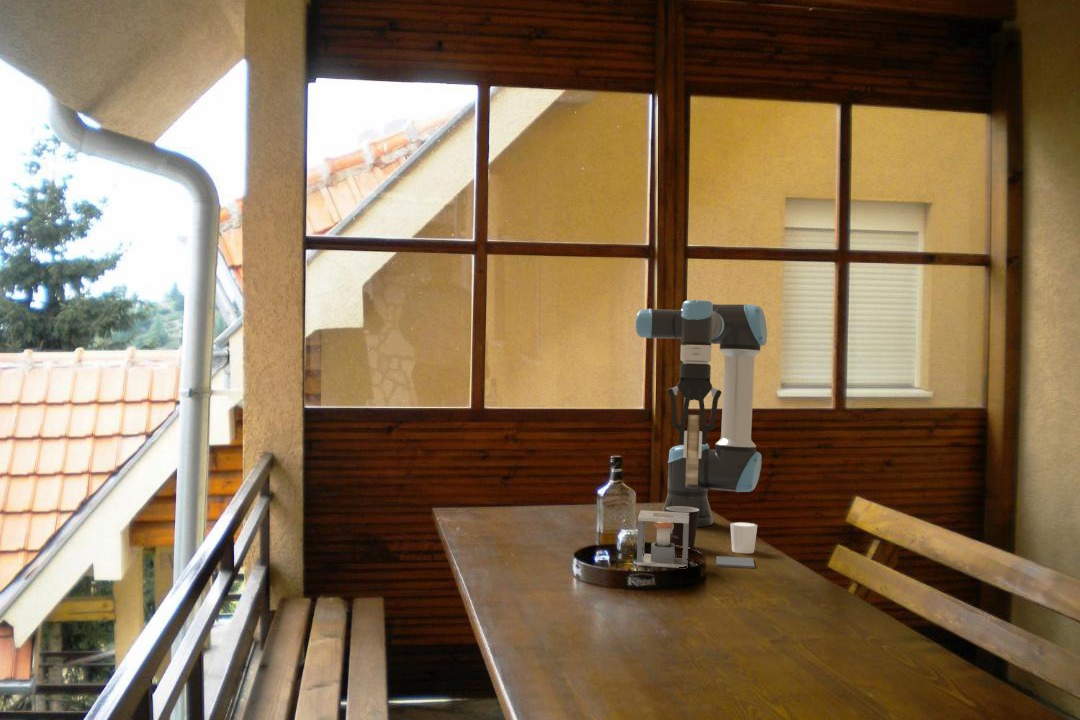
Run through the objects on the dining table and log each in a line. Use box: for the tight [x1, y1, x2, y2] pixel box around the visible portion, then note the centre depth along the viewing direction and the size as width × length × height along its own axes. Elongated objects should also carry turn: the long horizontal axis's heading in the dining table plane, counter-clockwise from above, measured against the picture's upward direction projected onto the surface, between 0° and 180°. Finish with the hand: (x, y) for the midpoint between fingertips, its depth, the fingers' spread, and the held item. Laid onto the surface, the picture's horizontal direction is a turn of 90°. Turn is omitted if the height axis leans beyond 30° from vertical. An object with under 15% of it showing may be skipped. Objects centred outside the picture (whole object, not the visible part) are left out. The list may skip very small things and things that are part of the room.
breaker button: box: [654, 522, 673, 546], centre depth 252 cm, size 4×4×6 cm
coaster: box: [715, 555, 756, 569], centre depth 253 cm, size 9×9×1 cm
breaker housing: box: [636, 509, 689, 569], centre depth 252 cm, size 10×12×12 cm
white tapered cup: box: [730, 521, 758, 554], centre depth 268 cm, size 7×7×7 cm
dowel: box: [685, 414, 701, 489], centre depth 256 cm, size 3×3×18 cm
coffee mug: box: [666, 506, 699, 549], centre depth 272 cm, size 12×9×10 cm
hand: (692, 457), depth 256 cm, fingers closed on dowel, 3 cm apart
